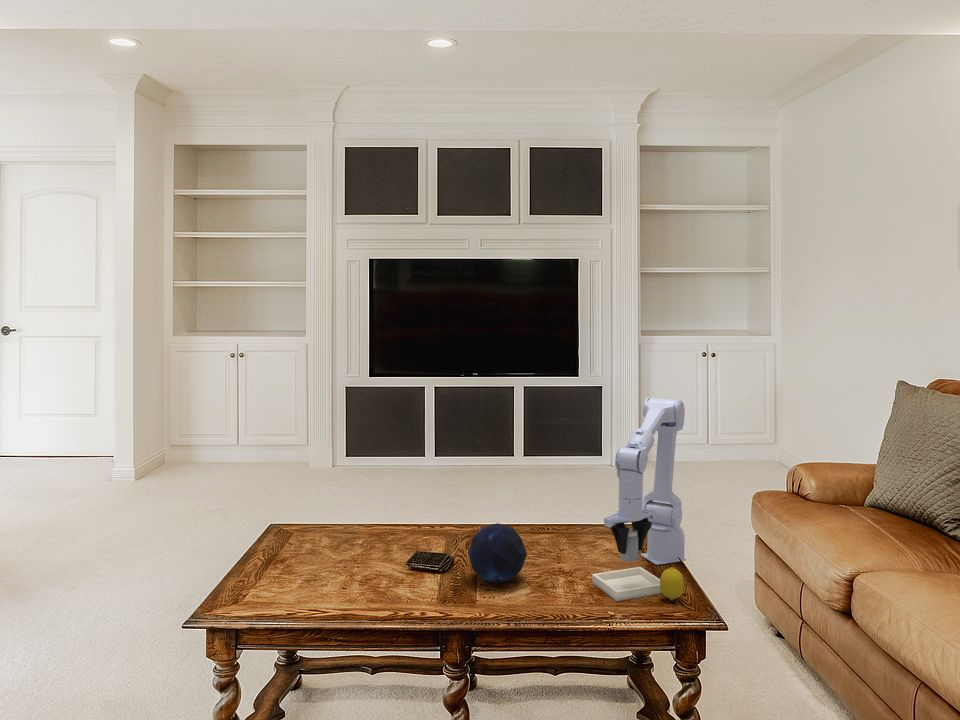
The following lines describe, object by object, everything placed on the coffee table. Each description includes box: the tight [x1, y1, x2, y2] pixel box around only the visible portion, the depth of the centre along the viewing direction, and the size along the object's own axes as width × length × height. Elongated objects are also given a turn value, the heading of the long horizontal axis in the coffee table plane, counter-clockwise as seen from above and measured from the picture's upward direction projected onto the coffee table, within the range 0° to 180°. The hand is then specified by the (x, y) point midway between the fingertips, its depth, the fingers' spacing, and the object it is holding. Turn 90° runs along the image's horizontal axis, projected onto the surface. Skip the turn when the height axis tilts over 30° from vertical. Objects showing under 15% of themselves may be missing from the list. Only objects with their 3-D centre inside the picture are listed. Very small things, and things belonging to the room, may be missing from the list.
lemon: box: [659, 566, 685, 601], centre depth 175 cm, size 6×6×8 cm
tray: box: [591, 566, 664, 602], centre depth 183 cm, size 14×12×2 cm
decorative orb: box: [467, 522, 528, 585], centre depth 188 cm, size 14×15×15 cm
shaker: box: [619, 527, 639, 563], centre depth 182 cm, size 4×4×7 cm
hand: (629, 550), depth 182 cm, fingers closed on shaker, 4 cm apart
